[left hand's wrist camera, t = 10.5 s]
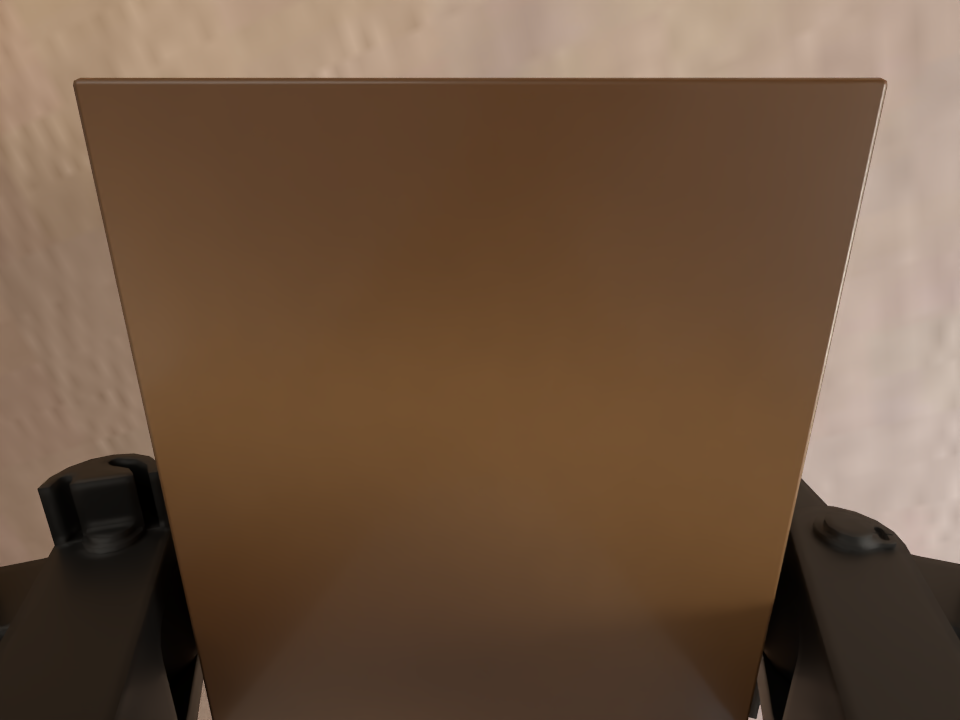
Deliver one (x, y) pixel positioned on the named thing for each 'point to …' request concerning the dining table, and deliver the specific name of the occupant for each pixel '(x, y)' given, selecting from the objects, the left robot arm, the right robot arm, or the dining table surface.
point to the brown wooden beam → (480, 376)
